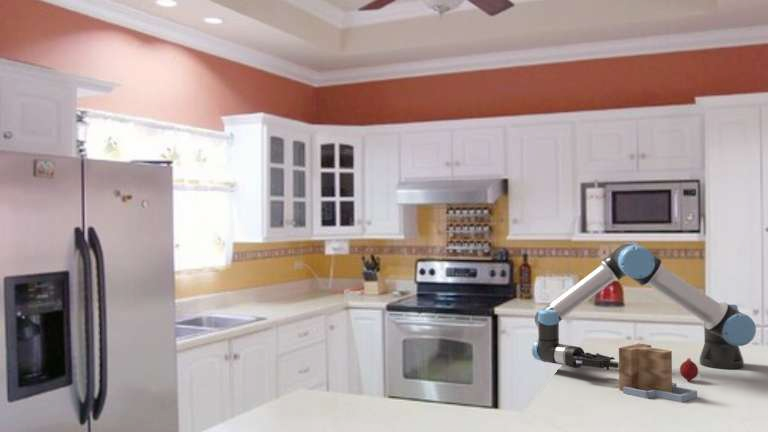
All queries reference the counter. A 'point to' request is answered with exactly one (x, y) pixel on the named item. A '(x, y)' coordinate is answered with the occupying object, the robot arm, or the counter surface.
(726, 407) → the counter surface
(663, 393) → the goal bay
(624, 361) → the tee block
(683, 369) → the onion
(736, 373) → the counter surface
